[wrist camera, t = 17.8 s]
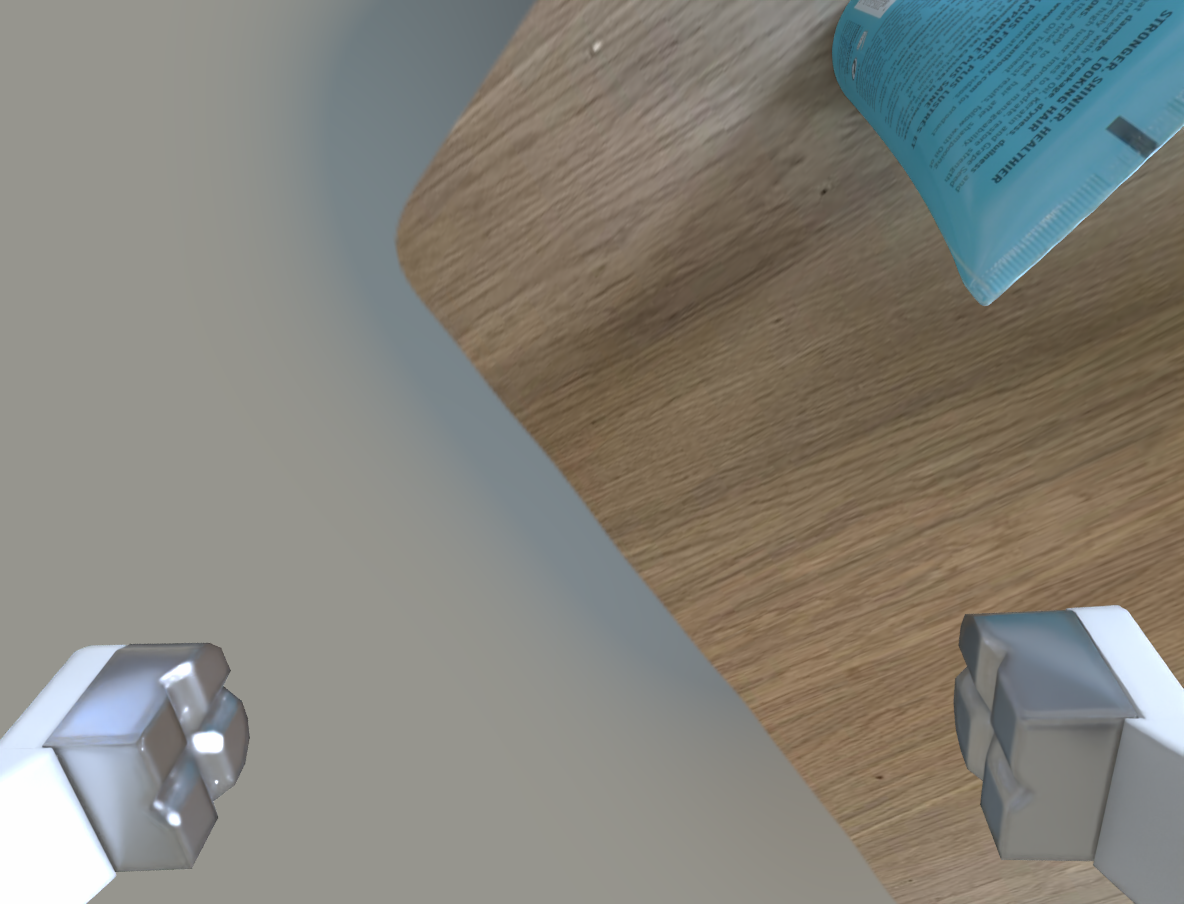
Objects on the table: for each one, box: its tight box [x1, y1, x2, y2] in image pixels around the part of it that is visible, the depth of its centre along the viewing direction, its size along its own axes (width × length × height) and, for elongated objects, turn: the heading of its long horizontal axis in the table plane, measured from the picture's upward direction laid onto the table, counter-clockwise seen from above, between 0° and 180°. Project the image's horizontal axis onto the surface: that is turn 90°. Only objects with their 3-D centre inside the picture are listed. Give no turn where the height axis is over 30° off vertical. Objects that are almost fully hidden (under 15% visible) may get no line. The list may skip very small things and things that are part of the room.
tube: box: [832, 0, 1184, 306], centre depth 24 cm, size 7×5×19 cm, turn 147°
